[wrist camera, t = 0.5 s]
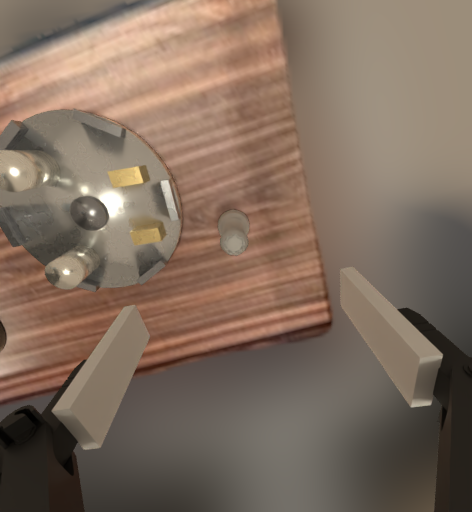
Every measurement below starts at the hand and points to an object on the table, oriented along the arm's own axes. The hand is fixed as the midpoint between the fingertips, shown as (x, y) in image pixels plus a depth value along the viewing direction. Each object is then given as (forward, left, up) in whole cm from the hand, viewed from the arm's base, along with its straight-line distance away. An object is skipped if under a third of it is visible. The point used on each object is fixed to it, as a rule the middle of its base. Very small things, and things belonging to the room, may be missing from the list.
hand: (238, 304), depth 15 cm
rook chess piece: (0, 0, -20) cm, 20 cm away
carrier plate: (-18, +5, -19) cm, 27 cm away
